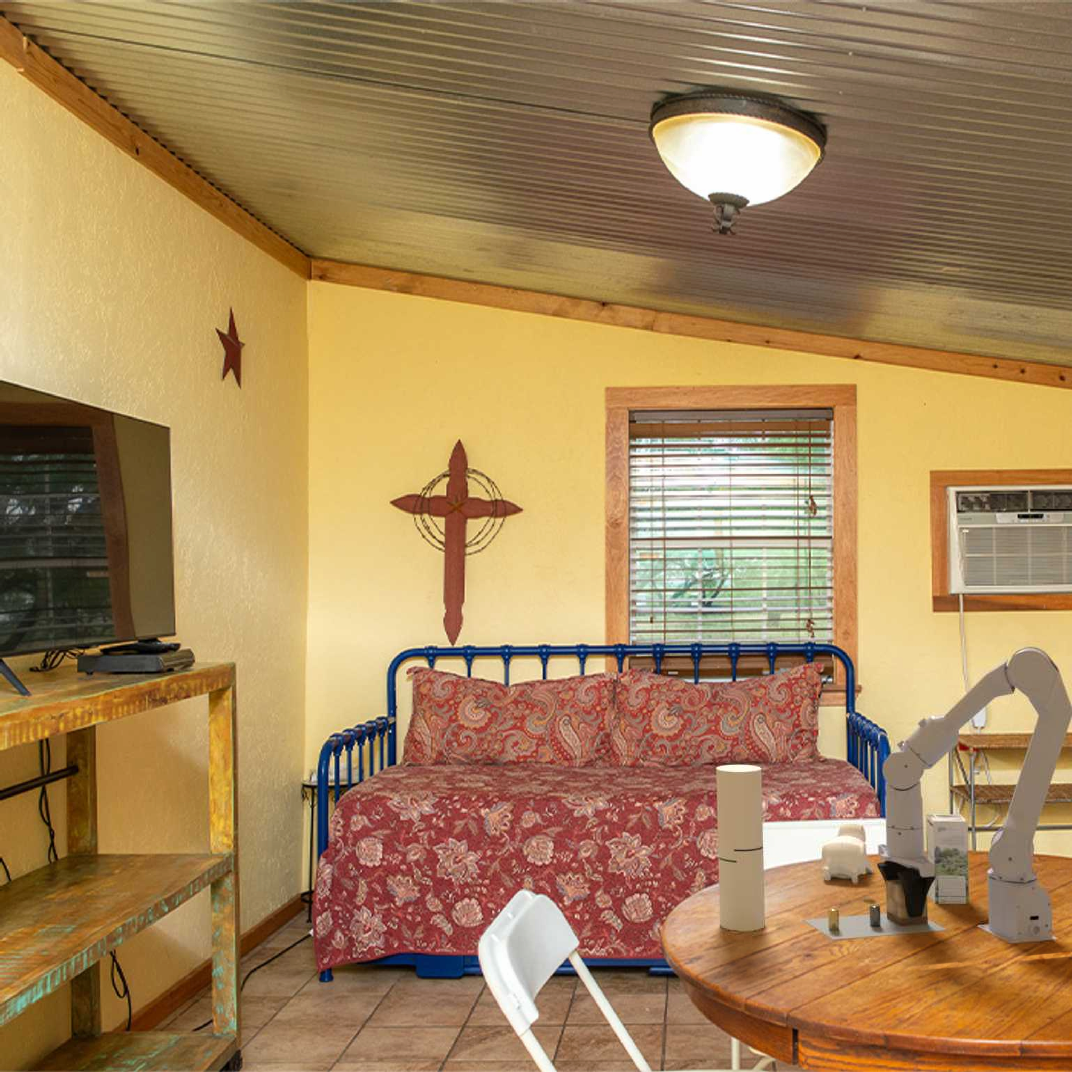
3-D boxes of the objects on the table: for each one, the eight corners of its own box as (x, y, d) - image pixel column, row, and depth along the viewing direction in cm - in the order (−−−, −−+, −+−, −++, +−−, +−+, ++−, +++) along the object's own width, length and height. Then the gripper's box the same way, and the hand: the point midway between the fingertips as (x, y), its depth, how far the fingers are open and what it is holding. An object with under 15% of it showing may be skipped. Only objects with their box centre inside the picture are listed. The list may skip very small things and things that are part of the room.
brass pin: (841, 934, 191) (840, 910, 192) (831, 934, 191) (830, 911, 191) (836, 931, 193) (835, 908, 193) (827, 932, 193) (826, 908, 193)
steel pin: (882, 930, 193) (881, 907, 193) (873, 931, 192) (872, 908, 193) (877, 927, 194) (877, 904, 194) (868, 928, 194) (867, 905, 194)
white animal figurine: (867, 899, 222) (879, 852, 235) (862, 859, 220) (875, 813, 232) (819, 895, 226) (834, 848, 239) (814, 855, 223) (829, 810, 236)
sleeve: (927, 923, 194) (926, 885, 194) (901, 926, 193) (899, 887, 193) (913, 916, 198) (912, 878, 199) (886, 918, 197) (885, 880, 198)
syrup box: (961, 898, 211) (959, 812, 211) (970, 907, 205) (967, 819, 205) (927, 897, 211) (925, 812, 212) (935, 907, 205) (932, 819, 206)
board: (947, 933, 190) (947, 929, 190) (833, 943, 187) (833, 939, 187) (911, 914, 201) (911, 911, 201) (803, 923, 197) (803, 919, 197)
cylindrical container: (764, 932, 193) (760, 772, 194) (718, 930, 195) (715, 771, 195) (765, 919, 200) (761, 764, 201) (721, 917, 202) (717, 764, 202)
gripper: (860, 818, 202) (862, 902, 202) (903, 837, 188) (906, 926, 188) (899, 816, 204) (902, 898, 203) (946, 834, 190) (948, 923, 189)
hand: (906, 912), depth 196 cm, fingers closed on sleeve, 5 cm apart
